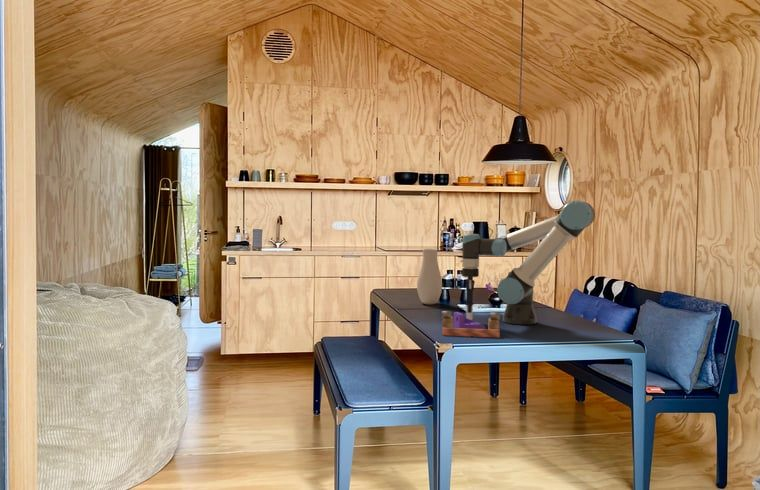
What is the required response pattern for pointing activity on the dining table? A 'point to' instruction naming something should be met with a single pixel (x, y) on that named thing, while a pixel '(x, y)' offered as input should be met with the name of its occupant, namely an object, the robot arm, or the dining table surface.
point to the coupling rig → (490, 332)
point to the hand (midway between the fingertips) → (469, 319)
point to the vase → (429, 278)
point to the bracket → (465, 322)
